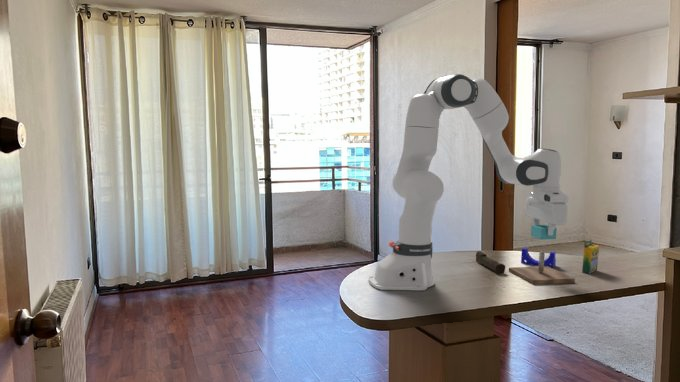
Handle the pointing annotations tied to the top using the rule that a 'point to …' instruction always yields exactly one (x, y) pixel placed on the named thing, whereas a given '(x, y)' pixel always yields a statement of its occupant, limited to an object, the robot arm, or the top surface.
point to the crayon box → (590, 257)
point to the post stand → (541, 273)
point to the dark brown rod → (490, 263)
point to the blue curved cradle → (525, 256)
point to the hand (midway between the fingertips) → (543, 232)
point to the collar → (542, 232)
